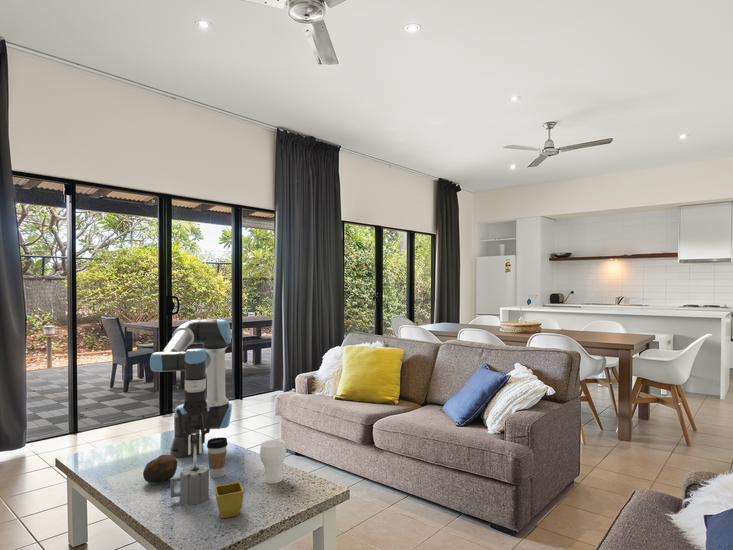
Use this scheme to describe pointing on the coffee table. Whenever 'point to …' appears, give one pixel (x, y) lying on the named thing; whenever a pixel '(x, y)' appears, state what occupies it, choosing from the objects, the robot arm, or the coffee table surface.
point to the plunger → (195, 440)
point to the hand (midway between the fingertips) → (194, 452)
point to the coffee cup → (217, 456)
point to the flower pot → (229, 499)
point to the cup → (273, 460)
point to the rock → (160, 469)
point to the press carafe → (192, 485)
